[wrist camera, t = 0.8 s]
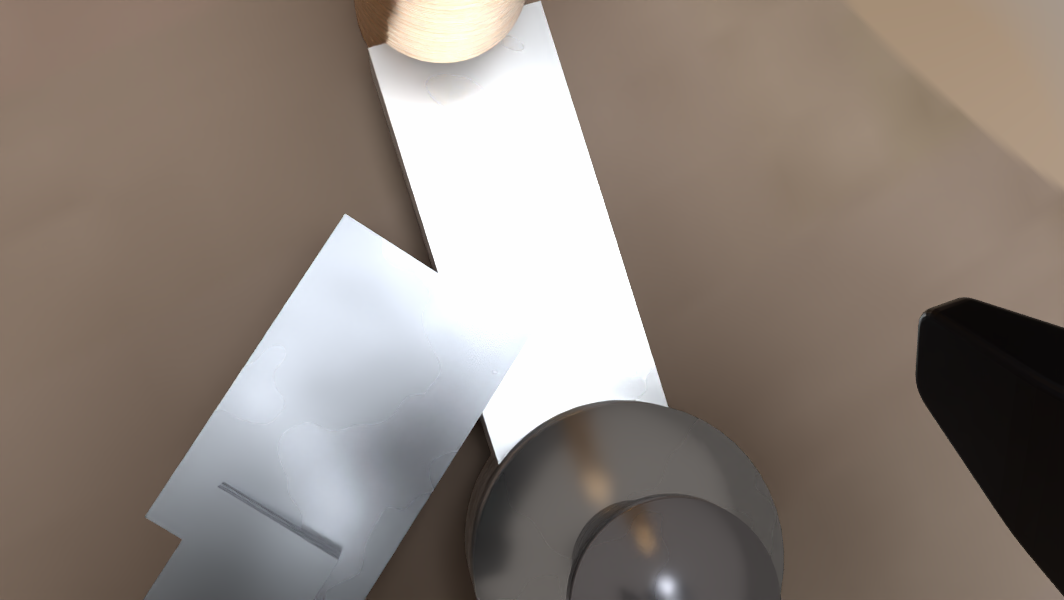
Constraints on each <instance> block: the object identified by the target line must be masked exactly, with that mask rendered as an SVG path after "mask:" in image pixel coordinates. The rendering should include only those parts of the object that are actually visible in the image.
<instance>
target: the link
mask: <svg viewBox="0 0 1064 600" xmlns="http://www.w3.org/2000/svg"><path fill="white" fill-rule="evenodd" d="M354 2H355V9H356V15H357V20H358V24H359V28H360V30H361V33H362V36H363V38H364V40H365V41H366V43H367V45H368V47H369V48H368V53H369V61H370V69H371V74H372V77H373V80H374V83H375V87H376V90H377V93H378V96H379V99H380V103H381V106H382V109H383V112H384V115H385V118H386V122H387V125H388V128H389V131H390V134H391V138H392V141H393V144H394V147H395V150H396V153H397V157H398V160H399V163H400V166H401V169H402V172H403V176H404V179H405V182H406V185H407V188H408V192H409V195H410V198H411V201H412V204H413V207H414V211H415V214H416V217H417V220H418V223H419V227H420V230H421V233H422V236H423V239H424V242H425V246H426V249H427V252H428V255H429V258H430V262H431V265H432V268H433V270H434V271H435V272H437V273H438V274H440V275H441V276H443V277H445V278H446V279H448V280H449V281H451V282H452V283H454V284H455V285H457V286H459V287H460V288H462V289H463V290H465V291H466V292H468V293H470V294H471V295H473V296H474V297H476V298H477V299H479V300H480V301H482V302H484V303H485V304H487V305H488V306H490V307H491V308H493V309H494V310H496V311H498V312H499V313H501V314H502V315H504V316H505V317H507V318H509V319H510V320H512V321H513V322H515V323H516V324H518V325H519V326H521V327H523V328H524V329H526V330H527V331H529V332H530V333H532V334H531V336H530V337H529V339H528V341H527V342H526V344H525V345H524V347H523V349H522V350H521V352H520V353H519V355H518V357H517V358H516V360H515V361H514V363H513V364H512V366H511V368H510V369H509V371H508V372H507V374H506V376H505V377H504V379H503V380H502V382H501V384H500V385H499V387H498V388H497V390H496V391H495V393H494V395H493V396H492V398H491V399H490V401H489V403H488V404H487V406H486V407H485V409H484V411H483V412H482V414H481V415H480V421H481V424H482V427H483V430H484V433H485V436H486V440H487V443H488V446H489V449H490V452H491V455H490V456H489V458H488V460H487V462H486V463H485V465H484V467H483V468H482V470H481V472H480V474H479V476H478V479H477V481H476V483H475V486H474V488H473V491H472V495H471V498H470V501H469V505H468V511H467V517H466V524H465V548H466V557H467V564H468V568H469V572H470V576H471V580H472V584H473V587H474V591H475V595H476V598H477V600H566V592H567V585H568V579H569V575H570V572H571V560H572V553H573V549H574V545H575V542H576V540H577V538H578V535H579V534H580V532H581V530H582V528H583V527H584V526H585V525H586V523H587V522H588V521H589V520H590V519H591V518H592V517H593V516H594V515H595V514H596V513H598V512H599V511H600V510H602V509H604V508H605V507H607V506H609V505H612V504H614V503H617V502H621V501H626V500H637V499H639V498H643V497H647V496H650V495H657V494H684V495H691V496H694V497H698V498H702V499H704V500H707V501H709V502H711V503H714V504H716V505H718V506H720V507H721V508H723V509H725V510H727V511H728V512H730V513H732V514H733V515H735V516H737V517H738V518H739V519H740V520H742V521H743V522H744V523H745V524H747V525H748V526H749V527H750V529H751V530H752V531H753V532H754V533H755V534H756V535H757V536H758V538H759V539H760V540H761V542H762V543H763V545H764V546H765V548H766V550H767V551H768V553H769V555H770V557H771V559H772V562H773V564H774V567H775V570H776V573H777V577H778V581H779V586H780V592H781V586H782V579H783V571H784V548H783V539H782V531H781V526H780V522H779V518H778V514H777V510H776V507H775V505H774V502H773V500H772V497H771V495H770V492H769V490H768V488H767V486H766V484H765V483H764V481H763V479H762V477H761V475H760V473H759V472H758V471H757V469H756V468H755V466H754V465H753V464H752V462H751V461H750V460H749V458H748V457H747V456H746V455H745V454H744V453H743V452H742V451H741V449H740V448H739V447H738V446H737V445H736V444H735V443H734V442H733V441H731V440H730V439H729V438H728V437H726V436H725V435H724V434H723V433H721V432H720V431H719V430H717V429H716V428H714V427H713V426H711V425H709V424H708V423H706V422H704V421H703V420H701V419H699V418H696V417H694V416H692V415H690V414H687V413H685V412H682V411H679V410H675V409H672V408H669V407H668V405H667V402H666V399H665V395H664V392H663V389H662V386H661V383H660V380H659V376H658V373H657V370H656V367H655V364H654V360H653V357H652V354H651V351H650V348H649V344H648V341H647V338H646V335H645V332H644V329H643V325H642V322H641V319H640V316H639V313H638V309H637V306H636V303H635V300H634V297H633V294H632V290H631V287H630V284H629V281H628V278H627V274H626V271H625V268H624V265H623V262H622V259H621V255H620V252H619V249H618V246H617V243H616V239H615V236H614V233H613V230H612V227H611V224H610V220H609V217H608V214H607V211H606V208H605V204H604V201H603V198H602V195H601V192H600V188H599V185H598V182H597V179H596V176H595V173H594V169H593V166H592V163H591V160H590V157H589V153H588V150H587V147H586V144H585V141H584V138H583V134H582V131H581V128H580V125H579V122H578V118H577V115H576V112H575V109H574V106H573V103H572V99H571V96H570V93H569V90H568V87H567V83H566V80H565V77H564V74H563V71H562V68H561V64H560V61H559V58H558V55H557V52H556V48H555V45H554V42H553V39H552V36H551V33H550V29H549V26H548V23H547V20H546V17H545V13H544V10H543V7H542V4H541V1H538V2H534V3H531V4H527V5H524V3H525V0H354Z"/></svg>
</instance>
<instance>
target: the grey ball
mask: <svg viewBox="0 0 1064 600" xmlns="http://www.w3.org/2000/svg"><path fill="white" fill-rule="evenodd" d="M566 600H781V595H780V586H779V581H778V577H777V573H776V570H775V567H774V564H773V562H772V559H771V557H770V555H769V553H768V551H767V550H766V548H765V546H764V545H763V543H762V542H761V540H760V539H759V538H758V536H757V535H756V534H755V533H754V532H753V531H752V530H751V529H750V527H749V526H748V525H747V524H745V523H744V522H743V521H742V520H740V519H739V518H738V517H737V516H735V515H733V514H732V513H730V512H728V511H727V510H725V509H723V508H721V507H720V506H718V505H716V504H714V503H711V502H709V501H707V500H704V499H702V498H698V497H694V496H691V495H684V494H657V495H650V496H647V497H643V498H639V499H637V500H626V501H621V502H617V503H614V504H612V505H609V506H607V507H605V508H604V509H602V510H600V511H599V512H598V513H596V514H595V515H594V516H593V517H592V518H591V519H590V520H589V521H588V522H587V523H586V525H585V526H584V527H583V528H582V530H581V532H580V534H579V535H578V538H577V540H576V542H575V545H574V549H573V553H572V560H571V572H570V575H569V579H568V585H567V592H566Z"/></svg>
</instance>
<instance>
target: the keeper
mask: <svg viewBox="0 0 1064 600" xmlns="http://www.w3.org/2000/svg"><path fill="white" fill-rule="evenodd" d="M531 334H532V333H530V332H529V331H527V330H526V329H524V328H523V327H521V326H519V325H518V324H516V323H515V322H513V321H512V320H510V319H509V318H507V317H505V316H504V315H502V314H501V313H499V312H498V311H496V310H494V309H493V308H491V307H490V306H488V305H487V304H485V303H484V302H482V301H480V300H479V299H477V298H476V297H474V296H473V295H471V294H470V293H468V292H466V291H465V290H463V289H462V288H460V287H459V286H457V285H455V284H454V283H452V282H451V281H449V280H448V279H446V278H445V277H443V276H441V275H440V274H438V273H437V272H435V271H434V270H432V269H430V268H429V267H427V266H426V265H424V264H423V263H421V262H420V261H418V260H416V259H415V258H413V257H412V256H410V255H409V254H407V253H406V252H404V251H402V250H401V249H399V248H398V247H396V246H395V245H393V244H391V243H390V242H388V241H387V240H385V239H384V238H382V237H381V236H379V235H377V234H376V233H374V232H373V231H371V230H370V229H368V228H367V227H365V226H363V225H362V224H360V223H359V222H357V221H356V220H354V219H352V218H351V217H349V216H348V215H346V214H345V215H344V216H343V218H342V219H341V221H340V222H339V224H338V225H337V227H336V228H335V230H334V231H333V233H332V234H331V236H330V237H329V239H328V240H327V242H326V243H325V245H324V246H323V248H322V249H321V251H320V253H319V254H318V256H317V257H316V259H315V260H314V262H313V263H312V265H311V266H310V268H309V269H308V271H307V272H306V274H305V275H304V277H303V278H302V280H301V281H300V283H299V284H298V286H297V287H296V289H295V290H294V292H293V293H292V295H291V296H290V298H289V299H288V301H287V302H286V304H285V305H284V307H283V308H282V310H281V312H280V313H279V315H278V316H277V318H276V319H275V321H274V322H273V324H272V325H271V327H270V328H269V330H268V331H267V333H266V334H265V336H264V337H263V339H262V340H261V342H260V343H259V345H258V346H257V348H256V349H255V351H254V352H253V354H252V355H251V357H250V358H249V360H248V361H247V363H246V364H245V366H244V367H243V369H242V371H241V372H240V374H239V375H238V377H237V378H236V380H235V381H234V383H233V384H232V386H231V387H230V389H229V390H228V392H227V393H226V395H225V396H224V398H223V399H222V401H221V402H220V404H219V405H218V407H217V408H216V410H215V411H214V413H213V414H212V416H211V417H210V419H209V420H208V422H207V423H206V425H205V426H204V428H203V430H202V431H201V433H200V434H199V436H198V437H197V439H196V440H195V442H194V443H193V445H192V446H191V448H190V449H189V451H188V452H187V454H186V455H185V457H184V458H183V460H182V461H181V463H180V464H179V466H178V467H177V469H176V470H175V472H174V473H173V475H172V476H171V478H170V479H169V481H168V482H167V484H166V485H165V487H164V489H163V490H162V492H161V493H160V495H159V496H158V498H157V499H156V501H155V502H154V504H153V505H152V507H151V508H150V510H149V511H148V513H147V514H146V516H145V517H146V518H147V519H149V520H151V521H152V522H154V523H156V524H157V525H159V526H161V527H162V528H164V529H166V530H167V531H169V532H171V533H172V534H174V535H176V536H177V537H179V538H181V539H182V541H181V543H180V544H179V546H178V547H177V549H176V550H175V552H174V553H173V555H172V557H171V558H170V560H169V561H168V563H167V564H166V566H165V567H164V569H163V570H162V572H161V573H160V575H159V576H158V578H157V579H156V581H155V582H154V584H153V586H152V587H151V589H150V590H149V592H148V593H147V595H146V596H145V598H144V599H143V600H365V598H366V596H367V595H368V593H369V592H370V590H371V588H372V587H373V585H374V584H375V582H376V580H377V579H378V577H379V576H380V574H381V573H382V571H383V569H384V568H385V566H386V565H387V563H388V561H389V560H390V558H391V557H392V555H393V553H394V552H395V550H396V549H397V547H398V546H399V544H400V542H401V541H402V539H403V538H404V536H405V534H406V533H407V531H408V530H409V528H410V526H411V525H412V523H413V522H414V520H415V519H416V517H417V515H418V514H419V512H420V511H421V509H422V507H423V506H424V504H425V503H426V501H427V499H428V498H429V496H430V495H431V493H432V492H433V490H434V488H435V487H436V485H437V484H438V482H439V480H440V479H441V477H442V476H443V474H444V472H445V471H446V469H447V468H448V466H449V465H450V463H451V461H452V460H453V458H454V457H455V455H456V453H457V452H458V450H459V449H460V447H461V445H462V444H463V442H464V441H465V439H466V438H467V436H468V434H469V433H470V431H471V430H472V428H473V426H474V425H475V423H476V422H477V420H478V418H479V417H480V415H481V414H482V412H483V411H484V409H485V407H486V406H487V404H488V403H489V401H490V399H491V398H492V396H493V395H494V393H495V391H496V390H497V388H498V387H499V385H500V384H501V382H502V380H503V379H504V377H505V376H506V374H507V372H508V371H509V369H510V368H511V366H512V364H513V363H514V361H515V360H516V358H517V357H518V355H519V353H520V352H521V350H522V349H523V347H524V345H525V344H526V342H527V341H528V339H529V337H530V336H531Z"/></svg>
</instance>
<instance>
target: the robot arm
mask: <svg viewBox="0 0 1064 600" xmlns="http://www.w3.org/2000/svg"><path fill="white" fill-rule="evenodd" d="M916 383H917V388H918V391H919V394H920V396H921V398H922V400H923V402H924V403H925V405H926V407H927V408H928V410H929V411H930V413H931V414H932V416H933V417H934V419H935V420H936V422H937V423H938V425H939V426H940V428H941V429H942V430H943V432H944V433H945V435H946V436H947V438H948V439H949V441H950V442H951V444H952V445H953V447H954V448H955V450H956V451H957V453H958V454H959V456H960V457H961V459H962V460H963V462H964V463H965V465H966V466H967V468H968V469H969V471H970V472H971V474H972V475H973V477H974V478H975V480H976V481H977V483H978V484H979V486H980V487H981V489H982V490H983V492H984V493H985V495H986V496H987V498H988V499H989V501H990V502H991V504H992V505H993V507H994V508H995V510H996V511H997V513H998V514H999V516H1000V517H1001V518H1002V520H1003V521H1004V523H1005V524H1006V525H1007V527H1008V528H1009V530H1010V531H1011V533H1012V534H1013V535H1014V537H1015V538H1016V539H1017V540H1018V542H1019V543H1020V544H1021V545H1022V547H1023V548H1024V549H1025V550H1026V552H1027V553H1028V554H1029V555H1030V557H1031V558H1032V559H1033V560H1034V561H1035V563H1036V564H1037V565H1038V566H1039V567H1040V569H1041V570H1042V571H1043V572H1044V573H1045V575H1046V576H1047V577H1048V578H1049V579H1050V581H1051V582H1052V583H1053V584H1054V585H1055V587H1056V588H1057V589H1058V590H1059V591H1060V593H1061V594H1062V595H1063V596H1064V328H1063V327H1060V326H1057V325H1054V324H1051V323H1048V322H1044V321H1041V320H1038V319H1035V318H1032V317H1029V316H1026V315H1023V314H1019V313H1016V312H1013V311H1010V310H1007V309H1004V308H1001V307H998V306H995V305H991V304H988V303H985V302H982V301H979V300H976V299H972V298H965V297H963V298H957V299H954V300H952V301H949V302H946V303H943V304H941V305H938V306H935V307H932V308H930V309H927V310H926V311H925V312H923V314H922V316H921V317H920V319H919V325H918V340H917V358H916Z"/></svg>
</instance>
